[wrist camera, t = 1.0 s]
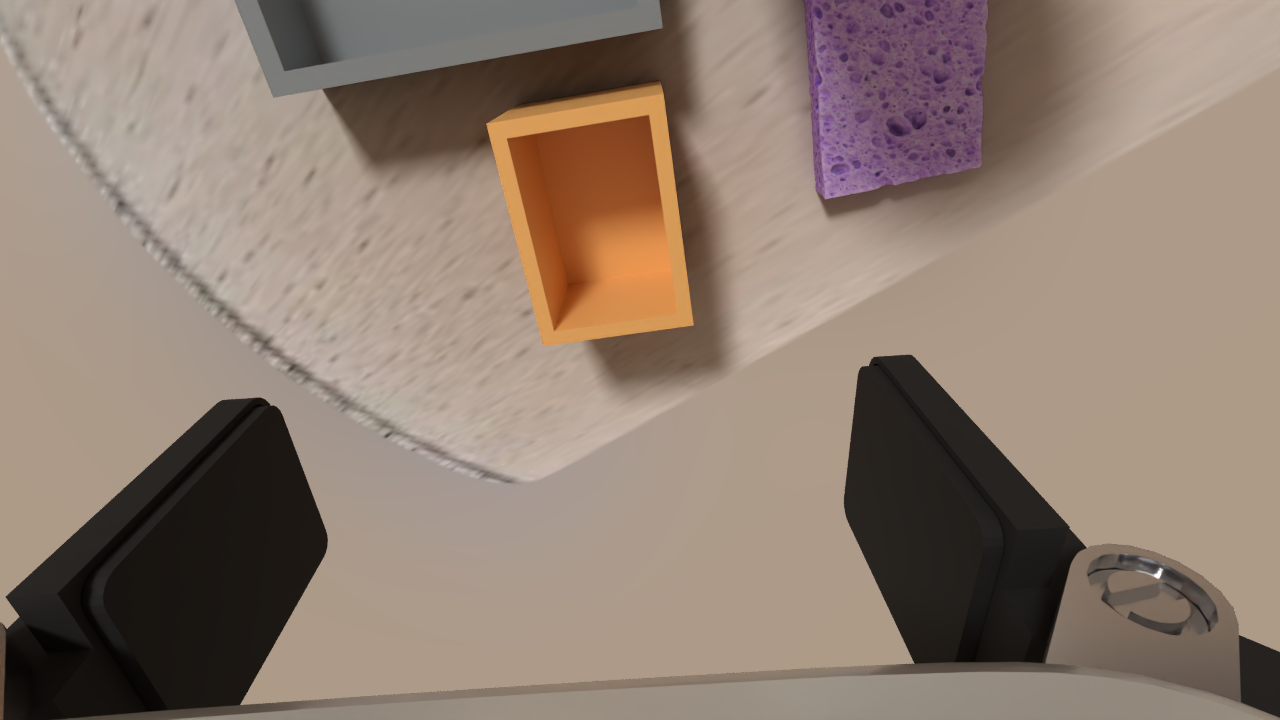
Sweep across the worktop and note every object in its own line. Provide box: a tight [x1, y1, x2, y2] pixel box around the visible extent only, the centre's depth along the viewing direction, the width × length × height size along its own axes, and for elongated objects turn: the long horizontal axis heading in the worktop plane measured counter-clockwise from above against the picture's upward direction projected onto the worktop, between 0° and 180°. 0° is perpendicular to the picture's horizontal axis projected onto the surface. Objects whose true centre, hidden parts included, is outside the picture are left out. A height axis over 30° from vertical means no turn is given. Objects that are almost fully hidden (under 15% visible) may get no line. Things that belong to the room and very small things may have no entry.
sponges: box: [804, 0, 988, 199], centre depth 26 cm, size 7×13×2 cm, turn 11°
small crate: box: [486, 81, 694, 346], centre depth 27 cm, size 6×9×6 cm
